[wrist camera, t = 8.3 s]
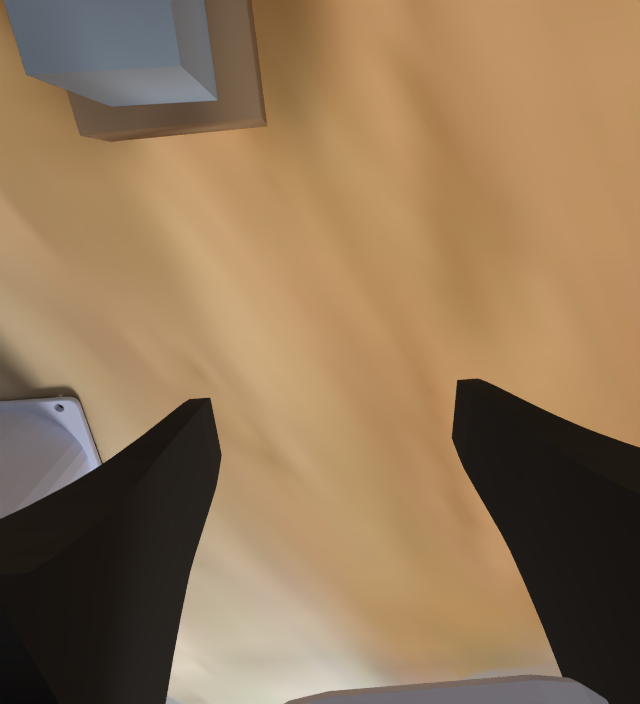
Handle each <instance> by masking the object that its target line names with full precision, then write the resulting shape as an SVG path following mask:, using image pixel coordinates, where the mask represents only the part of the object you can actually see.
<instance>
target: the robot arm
mask: <svg viewBox="0 0 640 704" xmlns="http://www.w3.org/2000/svg"><path fill="white" fill-rule="evenodd" d="M58 404H60V405H62V406H63V407H64V408H61V407H60V406H59V405H58ZM452 440H453V442H454V445H455V448H456V450H457V453H458V456H459V458H460V460H461V463H462V465H463V468H464V469H465V471H466V473H467V475H468V477H469V478H470V480H471V482H472V484H473V485H474V487H475V489H476V491H477V492H478V494H479V496H480V498H481V499H482V501H483V503H484V505H485V506H486V508H487V510H488V511H489V513H490V515H491V517H492V518H493V520H494V522H495V524H496V525H497V527H498V529H499V531H500V532H501V534H502V536H503V538H504V540H505V542H506V544H507V546H508V547H509V549H510V551H511V554H512V556H513V558H514V560H515V563H516V565H517V567H518V569H519V572H520V574H521V576H522V578H523V580H524V583H525V585H526V587H527V590H528V592H529V594H530V597H531V599H532V602H533V604H534V606H535V609H536V611H537V613H538V616H539V618H540V621H541V623H542V625H543V628H544V630H545V633H546V636H547V638H548V641H549V643H550V646H551V648H552V651H553V653H554V656H555V659H556V661H557V664H558V666H559V669H560V671H561V674H562V677H553V676H541V675H520V676H507V677H497V678H496V677H495V678H483V679H471V680H459V681H447V682H435V683H423V684H411V685H399V686H387V687H375V688H363V689H351V690H338V691H328V692H324V693H320V694H316V695H311V696H307V697H303V698H299V699H294V700H290V701H288V702H286V703H285V704H640V447H637V446H633V445H630V444H627V443H624V442H621V441H619V440H616V439H613V438H610V437H608V436H605V435H602V434H599V433H597V432H594V431H591V430H589V429H586V428H584V427H581V426H579V425H577V424H574V423H572V422H570V421H568V420H565V419H563V418H561V417H558V416H556V415H554V414H552V413H550V412H547V411H545V410H543V409H541V408H539V407H537V406H535V405H533V404H531V403H529V402H527V401H525V400H523V399H521V398H519V397H517V396H515V395H513V394H511V393H509V392H507V391H505V390H503V389H501V388H499V387H497V386H495V385H492V384H490V383H488V382H486V381H483V380H481V379H466V380H457V389H456V400H455V410H454V421H453V431H452ZM221 456H222V455H221V450H220V444H219V439H218V434H217V429H216V424H215V419H214V414H213V409H212V404H211V399H210V398H200V399H189V400H187V401H186V402H184V403H183V404H182V405H180V406H179V407H178V408H176V409H175V410H174V411H173V412H171V413H170V414H169V415H168V416H166V417H165V418H164V419H163V420H161V421H160V422H159V423H158V424H156V425H155V426H154V427H153V428H151V429H150V430H149V431H148V432H146V433H145V434H144V435H142V436H141V437H140V438H138V439H137V440H136V441H134V442H133V443H131V444H130V445H129V446H127V447H126V448H125V449H123V450H122V451H120V452H119V453H118V454H116V455H115V456H114V457H112V458H111V459H109V460H108V461H106V462H105V463H103V464H101V461H100V458H99V455H98V452H97V450H96V447H95V444H94V441H93V438H92V436H91V433H90V430H89V427H88V424H87V421H86V419H85V416H84V413H83V410H82V407H81V404H80V402H79V401H78V400H77V399H76V398H74V397H55V398H41V399H27V400H13V401H0V704H165V703H166V697H167V691H168V685H169V679H170V673H171V667H172V661H173V656H174V650H175V645H176V640H177V634H178V629H179V624H180V618H181V613H182V608H183V603H184V598H185V594H186V589H187V584H188V579H189V574H190V571H191V567H192V563H193V560H194V556H195V553H196V550H197V547H198V544H199V540H200V537H201V534H202V531H203V528H204V525H205V521H206V518H207V515H208V512H209V509H210V506H211V502H212V499H213V496H214V493H215V489H216V486H217V480H218V475H219V469H220V462H221Z"/></svg>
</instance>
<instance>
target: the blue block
mask: <svg viewBox="0 0 640 704" xmlns="http://www.w3.org/2000/svg"><path fill="white" fill-rule="evenodd" d="M4 3H5V6H6V9H7V13H8V16H9V19H10V23H11V26H12V29H13V33H14V36H15V39H16V43H17V46H18V49H19V53H20V56H21V59H22V63H23V66H24V69H25V73H26V75H28V76H31V77H33V78H36V79H39V80H41V81H44V82H47V83H49V84H52V85H55V86H57V87H60V88H63V89H65V90H68V91H71V92H73V93H76V94H79V95H81V96H84V97H87V98H89V99H92V100H95V101H97V102H100V103H103V104H105V105H108V106H111V107H113V106H130V105H147V104H165V103H182V102H199V101H216V100H218V97H217V90H216V83H215V76H214V68H213V61H212V54H211V47H210V39H209V32H208V25H207V18H206V10H205V3H204V0H4Z"/></svg>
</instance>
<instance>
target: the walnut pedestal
mask: <svg viewBox="0 0 640 704" xmlns="http://www.w3.org/2000/svg"><path fill="white" fill-rule="evenodd" d="M204 3H205V10H206V18H207V25H208V32H209V39H210V47H211V54H212V61H213V68H214V76H215V83H216V90H217V97H218V100H216V101H199V102H182V103H165V104H147V105H130V106H113V107H111V106H108V105H105V104H103V103H100V102H97V101H95V100H92V99H89V98H87V97H84V96H81V95H79V94H76V93H73V92H71V91H68V90H67V93H68V96H69V100H70V103H71V106H72V110H73V113H74V116H75V120H76V123H77V127H78V130H79V133H80V136H85V137H90V138H95V139H100V140H105V141H110V142H113V141H123V140H133V139H143V138H153V137H163V136H174V135H184V134H194V133H204V132H214V131H224V130H234V129H245V128H255V127H265V126H267V122H266V114H265V106H264V98H263V90H262V82H261V74H260V66H259V58H258V50H257V42H256V35H255V27H254V19H253V11H252V3H251V0H204Z"/></svg>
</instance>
